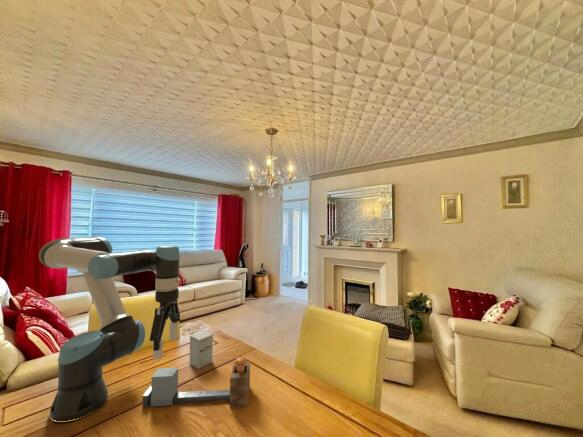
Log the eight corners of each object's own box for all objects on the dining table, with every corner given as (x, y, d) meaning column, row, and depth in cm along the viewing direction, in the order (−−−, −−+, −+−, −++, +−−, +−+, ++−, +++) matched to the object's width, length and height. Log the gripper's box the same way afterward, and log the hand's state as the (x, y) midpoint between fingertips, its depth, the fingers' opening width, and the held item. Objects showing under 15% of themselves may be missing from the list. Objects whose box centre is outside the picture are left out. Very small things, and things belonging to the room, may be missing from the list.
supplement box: (198, 369, 106) (198, 340, 107) (189, 363, 111) (189, 335, 111) (212, 362, 112) (213, 334, 112) (203, 356, 117) (203, 329, 117)
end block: (229, 407, 84) (230, 378, 84) (234, 388, 94) (234, 362, 94) (247, 406, 85) (247, 377, 85) (249, 387, 95) (250, 361, 95)
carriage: (150, 406, 84) (151, 377, 84) (157, 395, 89) (158, 368, 90) (172, 405, 85) (172, 376, 85) (177, 394, 90) (178, 367, 90)
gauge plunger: (234, 380, 87) (234, 362, 88) (236, 374, 91) (236, 356, 91) (245, 380, 88) (245, 361, 88) (246, 373, 92) (246, 356, 92)
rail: (142, 407, 84) (142, 395, 84) (149, 397, 89) (149, 386, 89) (230, 402, 87) (231, 391, 87) (233, 392, 92) (233, 382, 92)
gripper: (163, 299, 76) (162, 368, 76) (189, 280, 101) (188, 332, 100) (138, 299, 75) (136, 369, 75) (170, 281, 100) (169, 333, 100)
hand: (166, 348), depth 88 cm, fingers open, 13 cm apart
